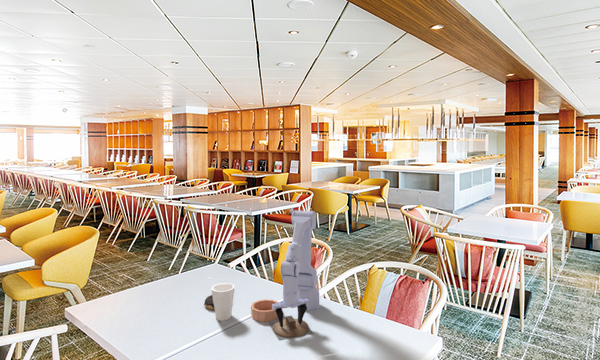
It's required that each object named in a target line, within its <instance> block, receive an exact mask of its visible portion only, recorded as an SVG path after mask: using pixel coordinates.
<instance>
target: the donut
mask: <svg viewBox="0 0 600 360" xmlns="http://www.w3.org/2000/svg"><path fill="white" fill-rule="evenodd" d="M203 305H204V307H205V308H206V309H207V310H211V311H215V309H214V302H213V296H212V294H211V295H208V296H207V297H206V298H205V300H204V303H203Z"/></svg>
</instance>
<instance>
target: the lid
mask: <svg viewBox="0 0 600 360" xmlns="http://www.w3.org/2000/svg"><path fill="white" fill-rule="evenodd" d="M274 323H275V322H274ZM308 327H309V324H308V323H307V322H306V321H305V320H303V319H302V323H301V324H299V323H298V319H297V318H294V316H292V315H288V316H287V315H286V316H285V318H283V327H282V328H281V327H280V324H279V320H277V321H276V323H275V324H274V325H273V330H272V332H273V331H274V332H273V334H274V335H275V334H277V335H279V336H282V337H294V338H298V336H300V337H302V336H301V335H304V334H305V333H306V332H307V331H308Z"/></svg>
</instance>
